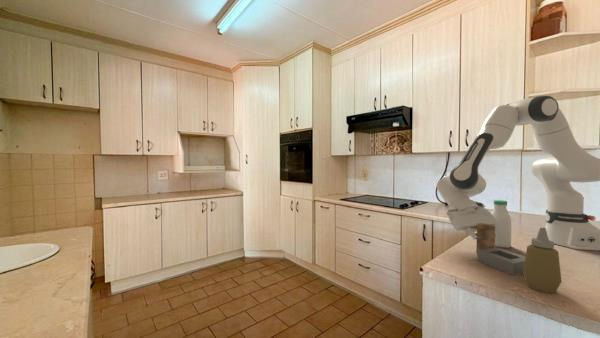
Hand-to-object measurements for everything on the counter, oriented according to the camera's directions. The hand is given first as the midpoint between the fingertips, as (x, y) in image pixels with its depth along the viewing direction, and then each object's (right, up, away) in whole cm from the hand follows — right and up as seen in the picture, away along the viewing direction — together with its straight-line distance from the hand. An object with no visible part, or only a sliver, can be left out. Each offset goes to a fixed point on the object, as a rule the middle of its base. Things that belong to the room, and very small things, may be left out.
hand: (485, 237), depth 96 cm
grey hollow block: (-1, -7, -10) cm, 12 cm away
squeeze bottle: (-3, -8, -25) cm, 27 cm away
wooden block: (0, -7, 0) cm, 7 cm away
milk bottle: (+14, -7, +11) cm, 19 cm away
